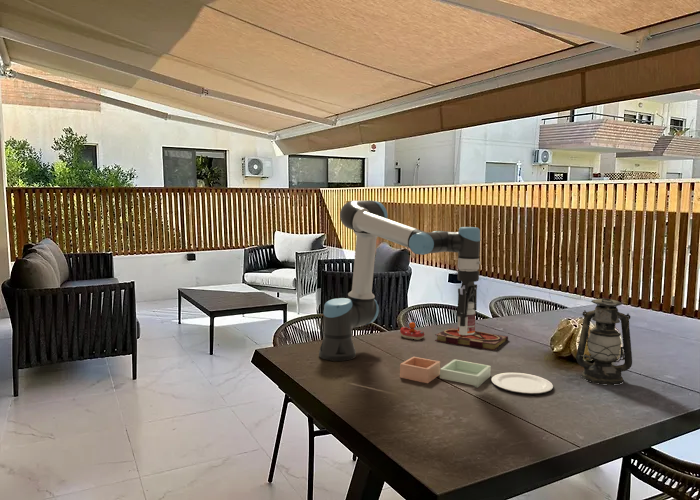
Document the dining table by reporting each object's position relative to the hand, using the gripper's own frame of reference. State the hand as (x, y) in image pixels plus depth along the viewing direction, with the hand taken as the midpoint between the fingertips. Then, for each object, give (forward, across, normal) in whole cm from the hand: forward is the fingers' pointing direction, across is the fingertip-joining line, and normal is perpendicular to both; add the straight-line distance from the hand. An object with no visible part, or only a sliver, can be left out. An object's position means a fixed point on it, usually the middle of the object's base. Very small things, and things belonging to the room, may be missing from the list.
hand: (466, 332), depth 190 cm
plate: (+18, +4, -19) cm, 27 cm away
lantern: (+17, +26, -43) cm, 53 cm away
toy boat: (+17, +41, +41) cm, 61 cm away
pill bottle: (+1, 0, 0) cm, 1 cm away
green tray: (+17, 0, 0) cm, 17 cm away
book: (+18, +51, +16) cm, 57 cm away
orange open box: (+17, -9, +14) cm, 24 cm away
